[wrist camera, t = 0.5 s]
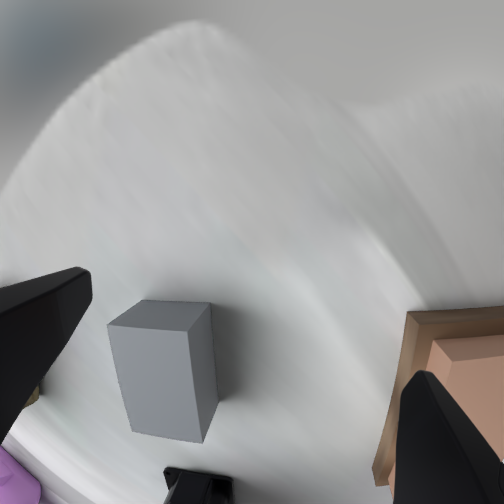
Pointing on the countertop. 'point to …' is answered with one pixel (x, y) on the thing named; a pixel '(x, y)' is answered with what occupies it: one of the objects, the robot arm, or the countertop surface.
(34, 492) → the teakettle
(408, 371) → the base slab
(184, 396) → the charcoal block
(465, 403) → the top slab
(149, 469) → the countertop surface
